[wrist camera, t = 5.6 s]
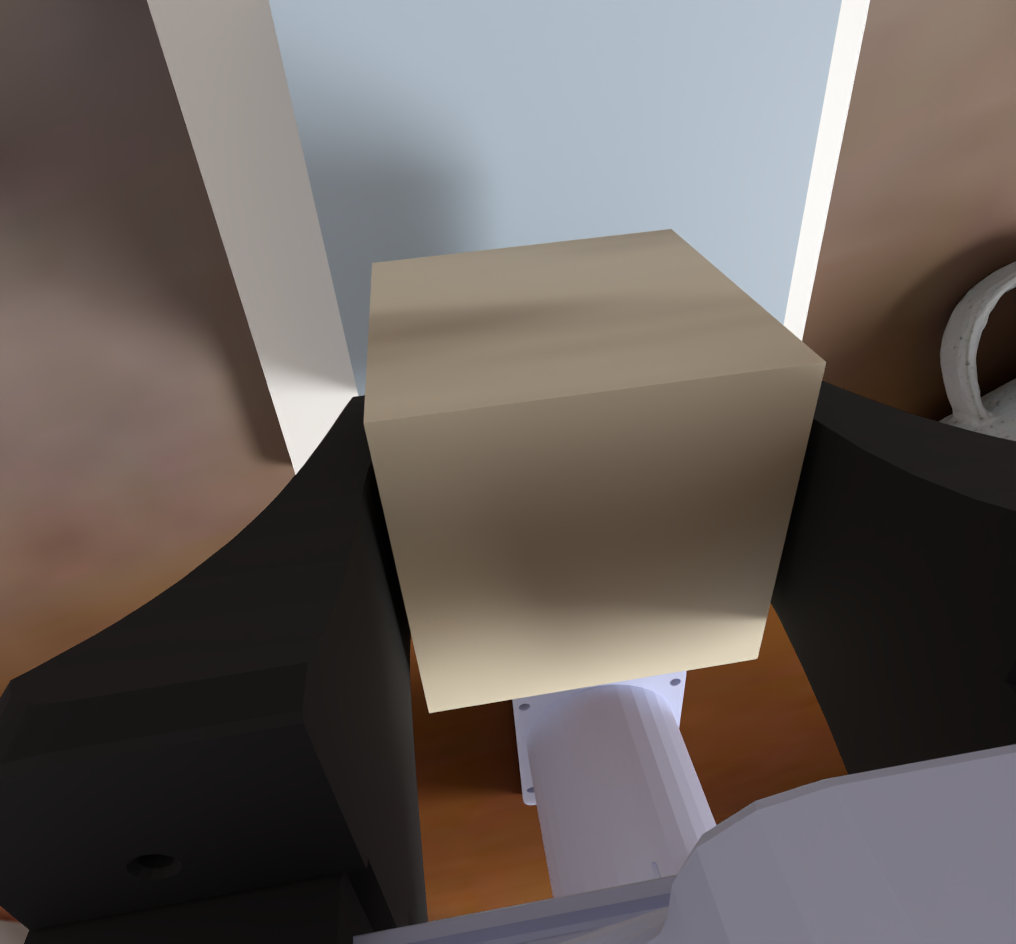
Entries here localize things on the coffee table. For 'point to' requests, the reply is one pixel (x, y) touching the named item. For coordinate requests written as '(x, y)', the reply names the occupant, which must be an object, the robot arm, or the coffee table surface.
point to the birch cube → (581, 461)
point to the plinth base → (498, 148)
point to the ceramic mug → (1000, 411)
